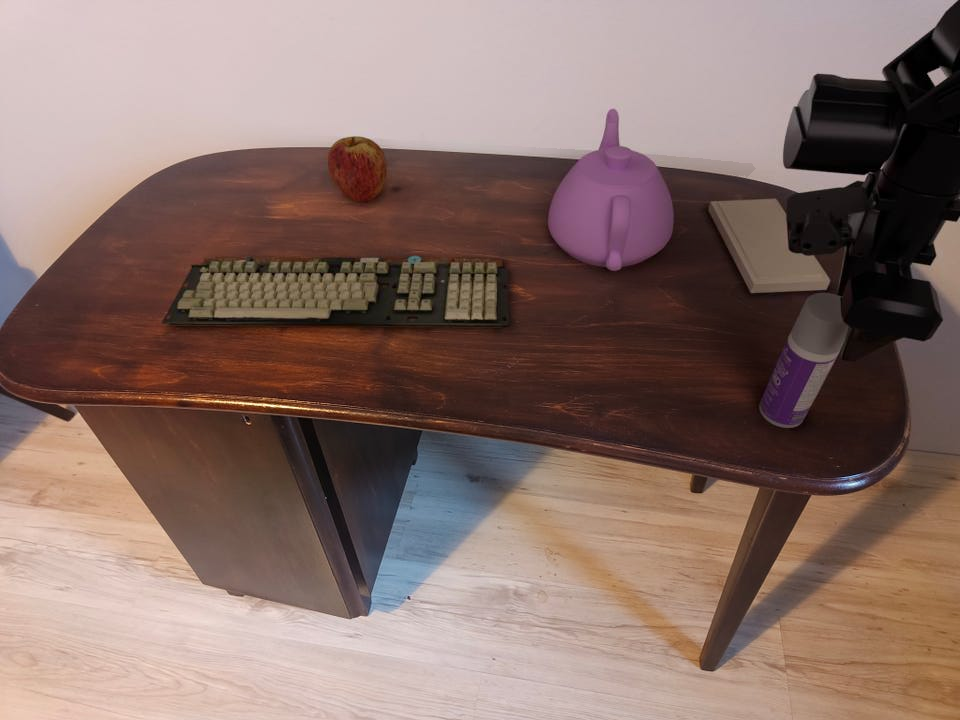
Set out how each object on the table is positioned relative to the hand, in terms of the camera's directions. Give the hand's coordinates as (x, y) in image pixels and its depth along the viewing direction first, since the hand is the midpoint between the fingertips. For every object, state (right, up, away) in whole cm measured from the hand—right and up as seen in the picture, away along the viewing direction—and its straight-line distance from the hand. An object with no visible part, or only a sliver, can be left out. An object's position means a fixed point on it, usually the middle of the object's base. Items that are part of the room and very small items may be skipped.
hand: (844, 326), depth 60 cm
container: (-1, -9, +10) cm, 14 cm away
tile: (+6, +13, +31) cm, 34 cm away
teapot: (-16, +15, +35) cm, 41 cm away
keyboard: (-53, +6, +27) cm, 59 cm away
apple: (-54, +23, +44) cm, 73 cm away
